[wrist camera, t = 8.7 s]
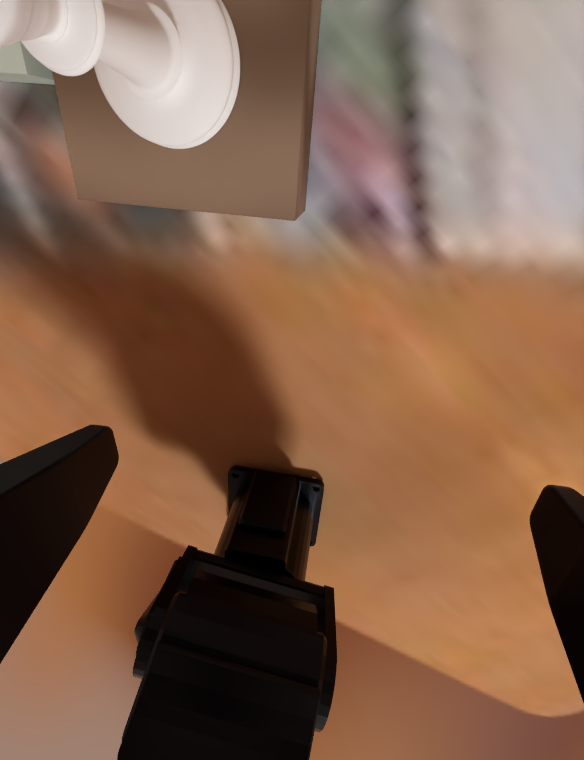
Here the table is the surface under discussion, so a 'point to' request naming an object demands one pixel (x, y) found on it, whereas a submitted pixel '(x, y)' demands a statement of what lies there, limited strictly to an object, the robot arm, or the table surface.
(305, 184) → the walnut slab
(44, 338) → the table surface
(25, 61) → the sage slab
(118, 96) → the chess piece
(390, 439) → the table surface
